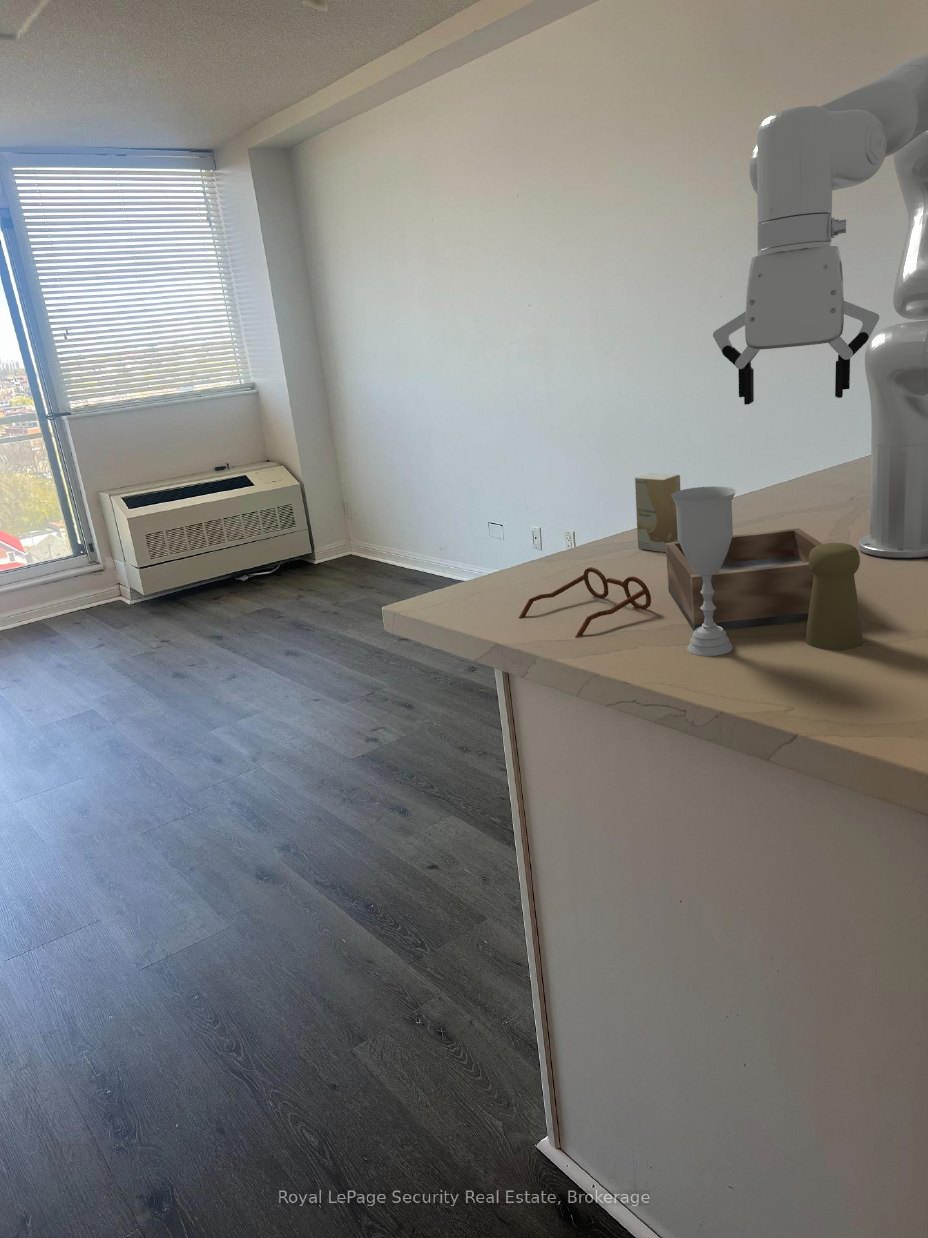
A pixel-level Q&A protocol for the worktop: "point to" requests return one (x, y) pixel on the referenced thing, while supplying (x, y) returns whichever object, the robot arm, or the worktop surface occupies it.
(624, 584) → the glasses
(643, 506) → the skincare box
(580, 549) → the worktop surface
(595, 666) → the worktop surface
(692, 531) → the chalice
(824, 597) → the cork
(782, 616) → the wooden box
